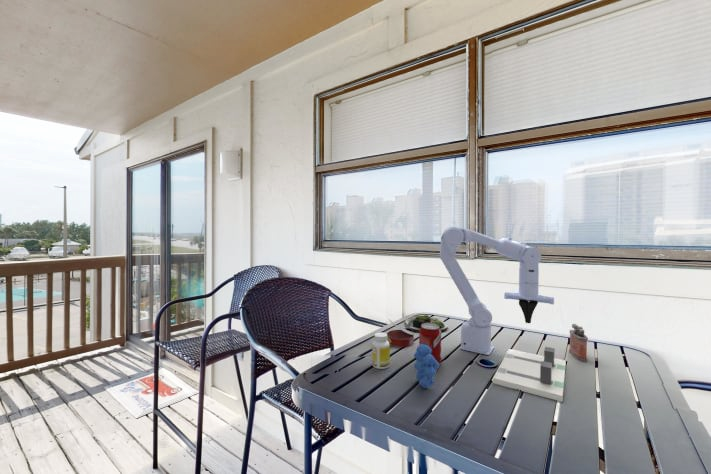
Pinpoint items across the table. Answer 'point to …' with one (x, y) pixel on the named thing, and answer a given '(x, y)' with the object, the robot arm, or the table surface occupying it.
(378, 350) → the supplement bottle
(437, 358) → the soda can
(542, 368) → the handle
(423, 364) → the grapes
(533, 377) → the switch plate
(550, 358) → the on handle
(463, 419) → the table surface
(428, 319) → the salad plate
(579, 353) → the lighter
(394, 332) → the dark red bowl
